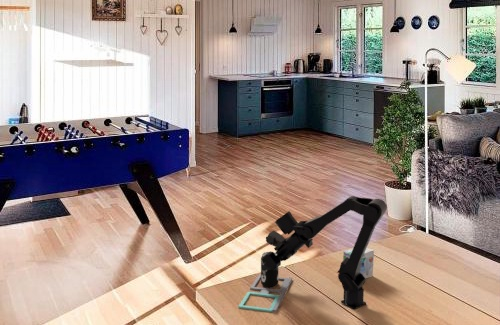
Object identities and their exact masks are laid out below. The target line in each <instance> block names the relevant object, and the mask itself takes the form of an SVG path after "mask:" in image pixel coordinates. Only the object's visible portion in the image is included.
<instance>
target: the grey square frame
mask: <svg viewBox="0 0 500 325" xmlns="http://www.w3.org/2000/svg"><path fill="white" fill-rule="evenodd" d="M288 278H289V277H280V276H278V281H282V284H281V286H280V287H279V289H274V288H269V287H258V286H257V285H258V283H259V281H261V274H258V275H257V276H256V278H255V280H254V281H253V283H252V284H251V286H250V288H249V290H253V291H259V292H261V290H270V292H269V293H276V294H277V293H278V294H281V292H282V290H283V288H284V286H285V284H286V282H287V280H288Z"/></svg>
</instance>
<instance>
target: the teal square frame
mask: <svg viewBox="0 0 500 325" xmlns="http://www.w3.org/2000/svg"><path fill="white" fill-rule="evenodd" d="M250 296H258V297H266V298H272V299H273V298H274V299H273V302H272V303H271V305H270V307H269V308H267V307H260V306H251V305H245V304H246V302H247V300H248V299H249V297H250ZM279 296H280V294H271V293H269V294H265V293H260V292H257V291H247V292H246V294H245V295H244V297H243V298H242V300H241V301H240V303H239V304H238V306H237V307H238V309H244V310H250V311H260V312H269V313H274V312H273V308H274V306H275V304H276V302H277V300H278V298H279Z"/></svg>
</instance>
